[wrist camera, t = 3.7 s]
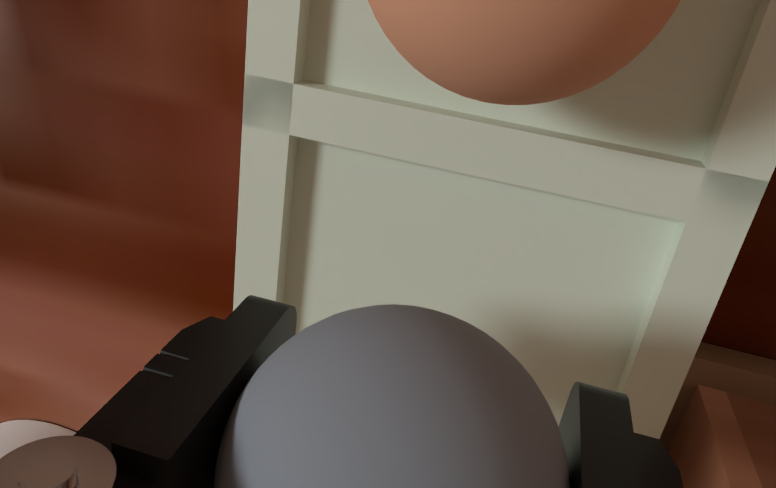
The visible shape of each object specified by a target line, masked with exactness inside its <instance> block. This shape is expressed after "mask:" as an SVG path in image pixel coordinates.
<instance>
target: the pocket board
mask: <svg viewBox="0 0 776 488" xmlns="http://www.w3.org/2000/svg"><path fill="white" fill-rule="evenodd" d="M775 167H776V0H681V1H680V3H679V5H678V7H677V9H676V10H675V12H674V13H673V14H672V16H671V17H670V19H669V20H668V22H667V23H666V25H665V26H664V27H663V29H662V30H661V31H660V32H659V34H658V35H657V36H656V37H655V38H654V39H653V40H652V41H651V43H650V44H649V45H648V46H647V47H646V48H645V49H644V50H643V51H642V52H641V53H640V54H639V55H637V56H636V57H635V58H634V59H633V60H632V61H631V62H630V63H629V64H627V65H626V66H625V67H623V68H622V69H620V70H619V71H618V72H616V73H615V74H613V75H612V76H611V77H609V78H607V79H606V80H604V81H602V82H600V83H598V84H596V85H595V86H593V87H591V88H589V89H587V90H584V91H582V92H579V93H577V94H574V95H572V96H569V97H566V98H562V99H558V100H554V101H550V102H546V103H539V104H531V105H501V104H493V103H486V102H481V101H478V100H474V99H470V98H467V97H463V96H461V95H459V94H456V93H454V92H451V91H449V90H447V89H445V88H443V87H441V86H440V85H438V84H436V83H434V82H433V81H431V80H429V79H428V78H427V77H425V76H424V75H423V74H421V73H420V72H419V71H418V70H416V69H415V68H414V67H412V65H411V64H410V63H409V62H408V61H407V60H406V59H405V58H404V57H403V56H402V55H401V54H400V53H399V52H398V51H397V50H396V48H395V47H394V46H393V45H392V43H391V42H390V41H389V39H388V38H387V37H386V35H385V34H384V32H383V30H382V28H381V27H380V25H379V23H378V22H377V20H376V18H375V16H374V14H373V11H372V9H371V7H370V4H369V2H368V0H248V19H247V39H246V60H245V80H244V100H243V121H242V141H241V161H240V182H239V202H238V222H237V242H236V263H235V283H234V303H233V311H234V310H235V309H236V308H237V307H238V306H239V305H240V303H241V302H242V301H243V300H244V299H245V298H246V297H248V296H249V295H253V296H257V297H261V298H265V299H269V300H272V301H276V302H280V303H284V304H288V305H291V306H294V307H295V308H296V312H297V322H296V333H295V335H296V334H297V333H299V332H300V331H302V330H303V329H305V328H306V327H308V326H310V325H312V324H315V323H317V322H319V321H321V320H323V319H325V318H327V317H330V316H332V315H334V314H337V313H341V312H344V311H347V310H350V309H356V308H362V307H368V306H374V305H389V304H398V305H411V306H418V307H423V308H428V309H433V310H436V311H439V312H443V313H446V314H449V315H452V316H454V317H456V318H459V319H461V320H463V321H465V322H468V323H470V324H471V325H473V326H475V327H477V328H478V329H480V330H482V331H483V332H485V333H487V334H488V335H489V336H491V337H492V338H493V339H495V340H496V341H497V342H499V343H500V344H501V345H502V346H503V347H504V348H505V349H506V350H508V351H509V352H510V353H511V354H512V355H513V356H514V357H515V358H516V359H517V360H518V361H519V362H520V363H521V364H522V366H523V367H524V368H525V369H526V371H527V372H528V373H529V374H530V375H531V377H532V378H533V379H534V381H535V382H536V384H537V386H538V387H539V389H540V390H541V392H542V394H543V395H544V397H545V399H546V401H547V402H548V404H549V406H550V408H551V411H552V413H553V415H554V417H555V420H556V422H557V424H558V427H559V424H560V421H561V418H562V415H563V412H564V409H565V406H566V403H567V400H568V397H569V394H570V391H571V389H572V387H573V385H574V383H575V382H576V381H577V382H581V383H585V384H589V385H593V386H596V387H600V388H604V389H608V390H612V391H615V392H619V393H623V394H626V395H627V396H628V398H629V403H630V410H631V417H632V424H633V431H634V433H638V434H642V435H645V436H649V437H653V438H656V439H660V436H661V434H662V432H663V429H664V427H665V425H666V422H667V420H668V417H669V415H670V413H671V410H672V408H673V406H674V403H675V401H676V399H677V396H678V394H679V392H680V389H681V387H682V385H683V382H684V380H685V378H686V375H687V373H688V371H689V368H690V366H691V364H692V361H693V359H694V357H695V354H696V352H697V349H698V347H699V345H700V342H701V340H702V338H703V335H704V333H705V331H706V328H707V326H708V324H709V321H710V319H711V317H712V314H713V312H714V310H715V307H716V305H717V303H718V300H719V298H720V296H721V293H722V291H723V289H724V286H725V284H726V281H727V279H728V277H729V274H730V272H731V270H732V267H733V265H734V263H735V260H736V258H737V256H738V253H739V251H740V249H741V246H742V244H743V242H744V239H745V237H746V235H747V232H748V230H749V228H750V225H751V223H752V221H753V218H754V216H755V213H756V211H757V209H758V206H759V204H760V202H761V199H762V197H763V195H764V192H765V190H766V188H767V185H768V183H769V181H770V178H771V176H772V174H773V171H774V169H775Z"/></svg>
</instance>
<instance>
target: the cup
mask: <svg viewBox="0 0 776 488" xmlns="http://www.w3.org/2000/svg"><path fill="white" fill-rule="evenodd" d="M75 434H76V432H74V431H72V430H69V429H67V428H64V427H61V426H58V425H55V424H51V423H48V422H42V421H37V420H12V421H7V422H3V423H0V459H1V458H2V457H3V456H5V455H6V454H8V453H9V452H11V451H13V450H15V449H16V448H18V447H21V446H23V445H25V444H27V443H30V442H33V441H36V440H39V439H44V438H48V437H54V436H73V435H75Z"/></svg>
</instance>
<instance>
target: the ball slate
mask: <svg viewBox="0 0 776 488" xmlns="http://www.w3.org/2000/svg"><path fill="white" fill-rule="evenodd" d="M214 488H570V483H569V472H568V462H567V456H566V452H565V448H564V445H563V441H562V437H561V434H560V431H559V427H558V424H557V422H556V420H555V417H554V415H553V413H552V411H551V408H550V406H549V404H548V402H547V401H546V399H545V397H544V395H543V394H542V392H541V390H540V389H539V387H538V386H537V384H536V382H535V381H534V379H533V378H532V377H531V375H530V374H529V373H528V372H527V371H526V369H525V368H524V367H523V366H522V364H521V363H520V362H519V361H518V360H517V359H516V358H515V357H514V356H513V355H512V354H511V353H510V352H509V351H508V350H506V349H505V348H504V347H503V346H502V345H501V344H500V343H499V342H497V341H496V340H495V339H493V338H492V337H491V336H489V335H488V334H487V333H485V332H483V331H482V330H480V329H478V328H477V327H475V326H473V325H471V324H470V323H468V322H465V321H463V320H461V319H459V318H456V317H454V316H452V315H449V314H446V313H443V312H439V311H436V310H433V309H428V308H423V307H418V306H411V305H398V304H389V305H374V306H368V307H362V308H356V309H350V310H347V311H344V312H341V313H337V314H334V315H332V316H330V317H327V318H325V319H323V320H321V321H319V322H317V323H315V324H312V325H310V326H308V327H306V328H305V329H303V330H302V331H300V332H299V333H297V334H296V335H294V336H293V337H292V338H290V339H289V340H288V341H286V342H285V343H284V344H282V345H281V346H280V347H279V348H278V349H277V350H276V351H275V352H274V353H272V354H271V355H270V356H269V357H268V358H267V359H266V361H265V362H264V363H263V364H262V365H261V366H260V367H259V368H258V370H257V371H256V372H255V374H254V375H253V376H252V378H251V379H250V380H249V382H248V383H247V385H246V386H245V388H244V389H243V391H242V393H241V394H240V396H239V398H238V400H237V402H236V404H235V406H234V408H233V410H232V412H231V414H230V416H229V419H228V421H227V424H226V427H225V429H224V432H223V436H222V439H221V443H220V446H219V451H218V456H217V461H216V467H215V477H214Z"/></svg>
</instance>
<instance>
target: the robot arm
mask: <svg viewBox="0 0 776 488" xmlns="http://www.w3.org/2000/svg"><path fill="white" fill-rule="evenodd" d="M296 322H297V312H296V308H295V307H294V306H291V305H288V304H284V303H280V302H276V301H272V300H269V299H265V298H261V297H257V296H253V295H249V296H248V297H246V298H245V299H244V300H243V301H242V302H241V303H240V305H239V306H238V307H237V308H236V309H235V310H234V311H233V312H232V313H231V314H230V315H229V316H228V317H227V318H226V320H222V319H219V318H215V317H211V316H210V317H208V318H206V319H204V320H202V321H200V322H197V323H195V324H193V325H191V326H189V327H187V328H185V329H183V330H181V331H180V332H179V333H178V334H177V335H176V336H175V337H174V338H173V339H172V340H171V341H170V342H169V343H168V344H167V345H166V346H165V347H164V348H163V349H162V350H161V353H160V354H156V355H155V356H154V357H153V358H152V359H151V360H150V361H149V362H148V363H147V364H146V365H145V366H144V370H143V371H139V372H138V373H137V374H136V375H135V376H134V377H133V378H132V379H131V380H130V381H129V382H128V383H127V384H126V385H125V386H124V387H123V388H122V389H121V390H120V391H119V392H118V393H117V394H116V395H114V396H113V397H112V398H111V399H110V400H109V401H108V402H107V403H106V404H105V405H104V406H103V407H102V408H101V409H100V410H99V411H98V412H97V413H96V414H95V415H94V416H93V417H92V418H91V419H90V420H89V421H88V422H87V423H86V424H85V425H84V426H83V427H82V428H81V429H80V430H79V431H78V432H77V433H76V434H75V435H73V436H54V437H48V438H44V439H39V440H36V441H33V442H30V443H27V444H25V445H23V446H21V447H18V448H16V449H15V450H13V451H11V452H9V453H8V454H6V455H5V456H3V457H2V458H1V459H0V488H214V477H215V467H216V461H217V456H218V451H219V446H220V443H221V439H222V436H223V432H224V429H225V427H226V424H227V421H228V419H229V416H230V414H231V412H232V410H233V408H234V406H235V404H236V402H237V400H238V398H239V396H240V394H241V393H242V391H243V389H244V388H245V386H246V385H247V383H248V382H249V380H250V379H251V378H252V376H253V375H254V374H255V372H256V371H257V370H258V368H259V367H260V366H261V365H262V364H263V363H264V362H265V361H266V359H267V358H268V357H269V356H270V355H271V354H272V353H274V352H275V351H276V350H277V349H278V348H279V347H280V346H281V345H282V344H284V343H285V342H286V341H288V340H289V339H290V338H292V337H293V336H294V335H295V333H296ZM559 431H560V434H561V437H562V441H563V445H564V448H565V452H566V456H567V462H568V472H569V483H570V488H683V483H682V478H681V474H680V469H679V468H678V467H677V465H676V464H675V462H674V461H673V459H672V458H671V456H670V455H669V454H668V452H667V451H666V449H665V448H664V446H663V445H662V443H661V442H660V440H659V439H656V438H653V437H649V436H645V435H642V434H638V433H634V431H633V424H632V417H631V410H630V403H629V398H628V396H627V395H626V394H623V393H619V392H615V391H612V390H608V389H604V388H600V387H596V386H593V385H589V384H585V383H581V382H577V381H576V382H575V383H574V385H573V387H572V389H571V391H570V394H569V397H568V400H567V403H566V406H565V409H564V412H563V415H562V418H561V421H560V424H559Z"/></svg>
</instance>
